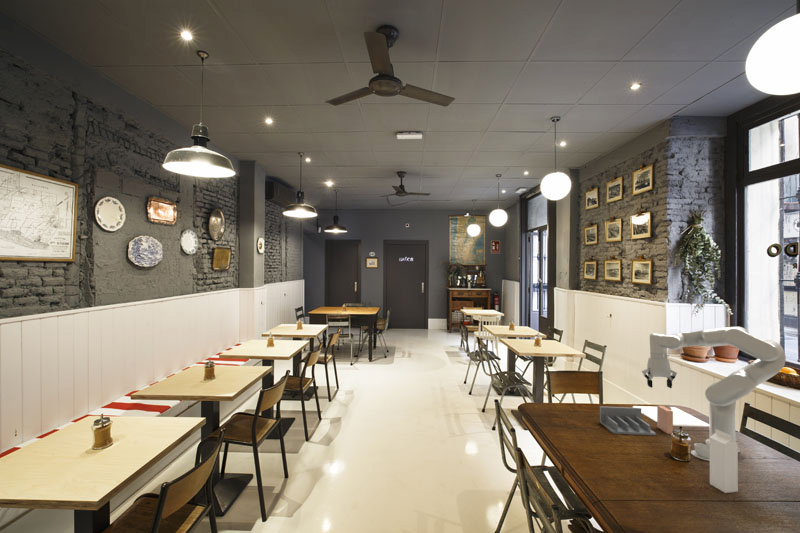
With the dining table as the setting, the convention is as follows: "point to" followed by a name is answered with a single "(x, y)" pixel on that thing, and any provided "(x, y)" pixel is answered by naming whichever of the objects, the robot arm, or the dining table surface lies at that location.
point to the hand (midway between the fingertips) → (659, 387)
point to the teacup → (701, 451)
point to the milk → (723, 462)
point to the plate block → (665, 419)
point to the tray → (678, 416)
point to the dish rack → (624, 421)
